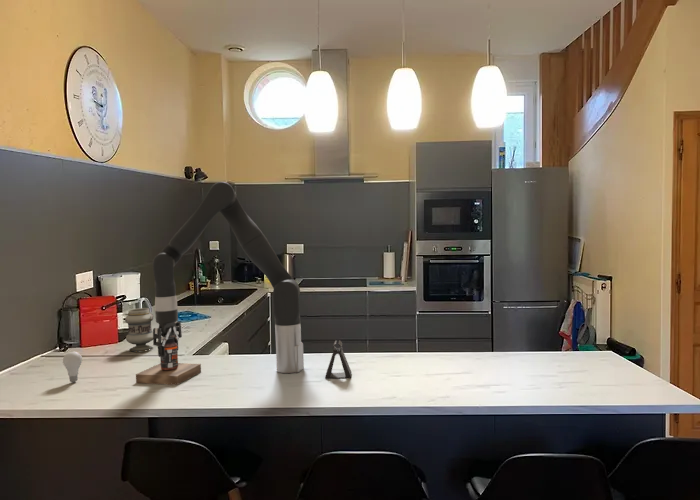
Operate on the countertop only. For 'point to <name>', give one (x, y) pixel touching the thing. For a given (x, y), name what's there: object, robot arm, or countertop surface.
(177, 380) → the walnut base
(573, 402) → the countertop surface
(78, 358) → the lightbulb
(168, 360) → the supplement bottle
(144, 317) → the apothecary jar
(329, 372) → the black triangular frame
